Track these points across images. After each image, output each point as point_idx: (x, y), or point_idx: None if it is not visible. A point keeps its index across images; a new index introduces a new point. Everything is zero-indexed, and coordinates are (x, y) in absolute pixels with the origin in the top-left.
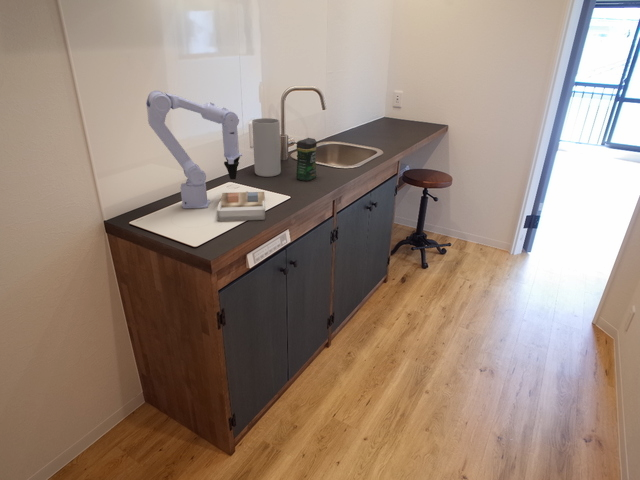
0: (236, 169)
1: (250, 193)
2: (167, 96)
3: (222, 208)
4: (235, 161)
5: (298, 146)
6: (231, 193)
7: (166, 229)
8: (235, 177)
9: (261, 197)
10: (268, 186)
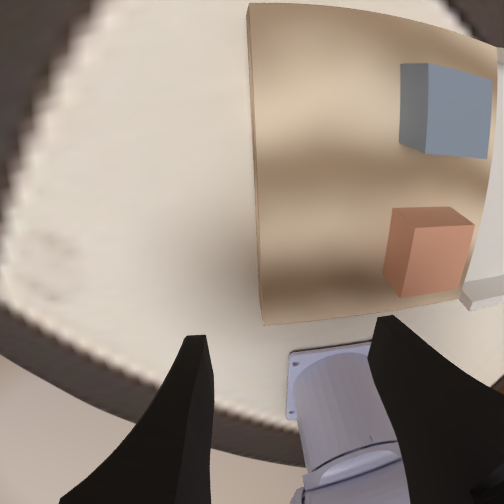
0: (486, 388)
1: (453, 130)
2: None
3: (467, 277)
4: (189, 498)
5: None
6: (420, 275)
7: (486, 377)
8: (406, 328)
9: (392, 37)
10: (12, 39)
